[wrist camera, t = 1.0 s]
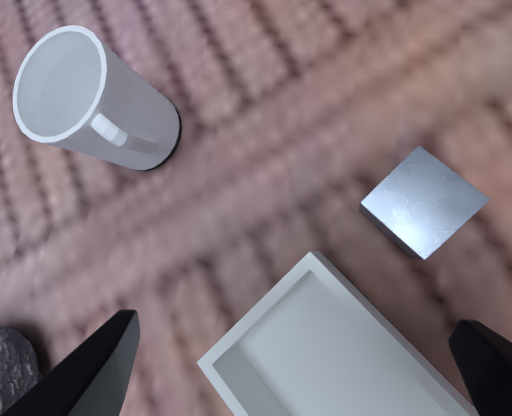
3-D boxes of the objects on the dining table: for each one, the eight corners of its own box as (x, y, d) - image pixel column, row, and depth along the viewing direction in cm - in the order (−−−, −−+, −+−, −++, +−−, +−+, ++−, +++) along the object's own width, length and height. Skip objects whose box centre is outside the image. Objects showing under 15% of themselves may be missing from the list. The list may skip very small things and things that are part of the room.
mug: (99, 142, 34) (-5, 99, 24) (148, 77, 33) (61, 5, 23) (160, 206, 30) (67, 186, 20) (216, 135, 29) (147, 79, 19)
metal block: (461, 209, 22) (490, 199, 18) (410, 257, 23) (424, 259, 18) (406, 165, 24) (418, 145, 19) (359, 211, 24) (360, 202, 20)
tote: (509, 443, 20) (564, 512, 14) (383, 541, 21) (392, 637, 16) (319, 250, 25) (309, 251, 20) (227, 340, 26) (196, 362, 21)
